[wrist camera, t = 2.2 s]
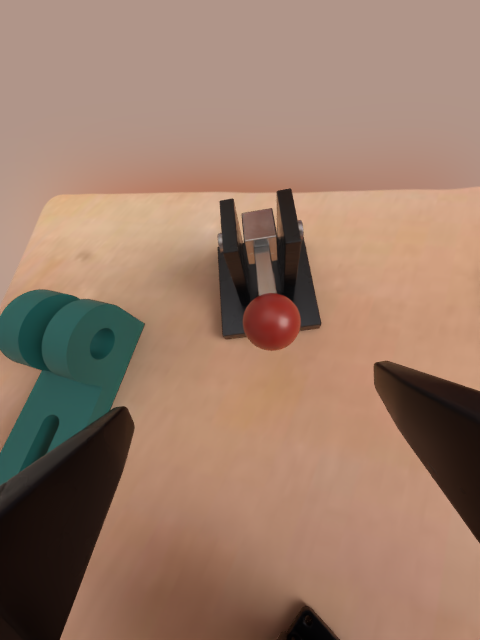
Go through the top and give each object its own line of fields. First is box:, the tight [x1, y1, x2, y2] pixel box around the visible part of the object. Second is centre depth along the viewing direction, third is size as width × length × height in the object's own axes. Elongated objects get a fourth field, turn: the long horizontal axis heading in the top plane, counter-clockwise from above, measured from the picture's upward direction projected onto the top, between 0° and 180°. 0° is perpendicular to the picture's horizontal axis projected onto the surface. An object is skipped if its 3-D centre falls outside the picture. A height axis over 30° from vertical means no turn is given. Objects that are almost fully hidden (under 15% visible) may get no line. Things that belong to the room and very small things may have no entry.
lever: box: [242, 208, 301, 351], centre depth 17 cm, size 10×3×3 cm, turn 5°
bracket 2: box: [218, 189, 321, 339], centre depth 21 cm, size 10×9×10 cm
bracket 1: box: [0, 290, 145, 485], centre depth 21 cm, size 18×7×8 cm, turn 165°
